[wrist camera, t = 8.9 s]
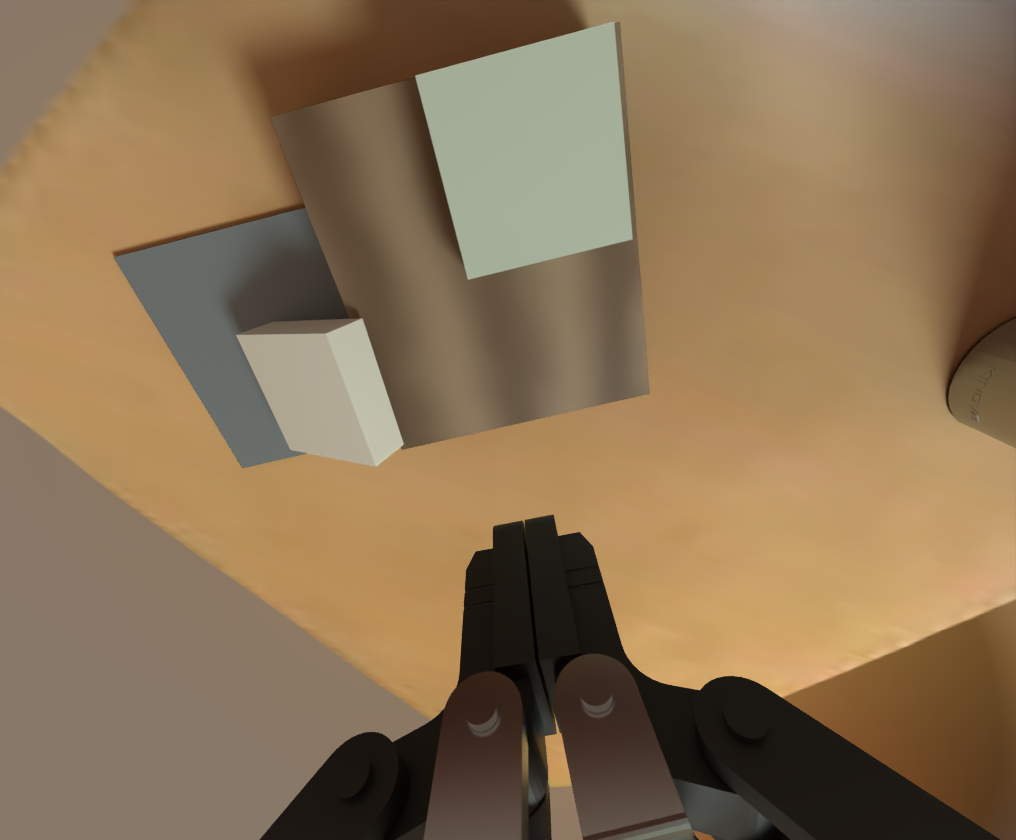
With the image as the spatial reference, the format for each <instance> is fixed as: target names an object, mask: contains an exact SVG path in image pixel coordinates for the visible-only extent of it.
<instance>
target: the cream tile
mask: <svg viewBox="0 0 1016 840" xmlns="http://www.w3.org/2000/svg"><path fill="white" fill-rule="evenodd" d="M236 336H237V338H238V340H239V342H240V345H241V347H242V349H243V351H244V353H245V355H246V357H247V359H248V361H249V364H250V366H251V368H252V370H253V372H254V374H255V376H256V378H257V380H258V383H259V385H260V387H261V389H262V391H263V393H264V395H265V397H266V399H267V402H268V404H269V406H270V408H271V410H272V412H273V414H274V416H275V418H276V421H277V423H278V425H279V427H280V429H281V431H282V433H283V435H284V437H285V440H286V442H287V444H288V446H289V448H290V450H293V451H298V452H303V453H308V454H313V455H318V456H323V457H329V458H334V459H339V460H344V461H349V462H354V463H359V464H364V465H369V466H374V467H376V466H378V465H379V464H380V463H381V462H383V461H384V460H385V459H386V458H388V457H389V456H390V455H391V454H393V453H394V452H395V451H396V450H398V449H399V448H400V447H401V446H403V445H404V443H403V440H402V437H401V434H400V431H399V428H398V425H397V422H396V419H395V416H394V413H393V410H392V407H391V404H390V401H389V398H388V395H387V391H386V388H385V385H384V382H383V379H382V376H381V373H380V370H379V367H378V364H377V361H376V358H375V355H374V352H373V349H372V346H371V343H370V340H369V337H368V334H367V331H366V328H365V325H364V322H363V319H362V318H355V319H330V320H304V321H279V322H271V323H268V324H265V325H263V326H260V327H257V328H254V329H251V330H248V331H246V332H243V333H240V334H237V335H236Z"/></svg>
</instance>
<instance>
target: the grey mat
mask: <svg viewBox="0 0 1016 840" xmlns="http://www.w3.org/2000/svg"><path fill="white" fill-rule="evenodd" d="M114 259H115V261H116V262H117V264H118V266H119V267H120V269H121V270H122V272H123V274H124V275H125V277H126V279H127V280H128V282H129V283H130V285H131V287H132V288H133V290H134V292H135V293H136V295H137V297H138V298H139V300H140V301H141V303H142V305H143V306H144V308H145V310H146V311H147V313H148V315H149V316H150V318H151V319H152V321H153V323H154V324H155V326H156V328H157V329H158V331H159V333H160V334H161V336H162V337H163V339H164V341H165V342H166V344H167V346H168V347H169V349H170V350H171V352H172V354H173V355H174V357H175V359H176V360H177V362H178V364H179V365H180V367H181V368H182V370H183V372H184V373H185V375H186V377H187V378H188V380H189V382H190V383H191V385H192V386H193V388H194V390H195V391H196V393H197V395H198V396H199V398H200V399H201V401H202V403H203V404H204V406H205V408H206V409H207V411H208V413H209V414H210V416H211V417H212V419H213V421H214V422H215V424H216V426H217V427H218V429H219V431H220V432H221V434H222V435H223V437H224V439H225V440H226V442H227V444H228V445H229V447H230V448H231V450H232V452H233V453H234V455H235V457H236V458H237V460H238V462H239V463H240V465H241V466H242V468H245V467H250V466H254V465H258V464H263V463H267V462H271V461H276V460H280V459H285V458H289V457H293V456H298V455H302V454H306V453H303V452H298V451H293V450H290V448H289V446H288V444H287V442H286V440H285V437H284V435H283V433H282V431H281V429H280V427H279V425H278V423H277V421H276V418H275V416H274V414H273V412H272V410H271V408H270V406H269V404H268V402H267V399H266V397H265V395H264V393H263V391H262V389H261V387H260V385H259V383H258V380H257V378H256V376H255V374H254V372H253V370H252V368H251V366H250V364H249V361H248V359H247V357H246V355H245V353H244V351H243V349H242V347H241V345H240V342H239V340H238V338H237V336H236V335H237V334H240V333H243V332H246V331H248V330H251V329H254V328H257V327H260V326H263V325H265V324H268V323H271V322H279V321H304V320H330V319H350V318H349V316H348V313H347V311H346V308H345V306H344V303H343V301H342V298H341V296H340V293H339V291H338V288H337V286H336V283H335V280H334V278H333V275H332V273H331V270H330V268H329V265H328V263H327V260H326V258H325V255H324V253H323V250H322V248H321V245H320V243H319V240H318V238H317V235H316V233H315V230H314V228H313V225H312V223H311V220H310V218H309V215H308V213H307V210H306V208H302V209H298V210H294V211H290V212H286V213H282V214H278V215H275V216H271V217H267V218H263V219H259V220H255V221H251V222H248V223H244V224H240V225H236V226H232V227H228V228H224V229H221V230H217V231H213V232H209V233H205V234H201V235H197V236H194V237H190V238H186V239H182V240H178V241H174V242H171V243H167V244H163V245H159V246H155V247H151V248H147V249H144V250H140V251H136V252H132V253H128V254H124V255H120V256H117V257H114Z"/></svg>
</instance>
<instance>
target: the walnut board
mask: <svg viewBox="0 0 1016 840" xmlns="http://www.w3.org/2000/svg"><path fill="white" fill-rule="evenodd" d="M614 25H615V37H616V48H617V60H618V72H619V84H620V96H621V107H622V119H623V131H624V143H625V154H626V166H627V178H628V190H629V201H630V213H631V225H632V237H633V239H632V240H628V241H624V242H620V243H616V244H612V245H608V246H604V247H600V248H595V249H591V250H587V251H583V252H579V253H575V254H571V255H567V256H563V257H559V258H555V259H551V260H547V261H542V262H538V263H534V264H530V265H526V266H522V267H518V268H514V269H510V270H506V271H502V272H498V273H494V274H490V275H485V276H481V277H477V278H473V279H469V280H468V278H467V274H466V270H465V266H464V263H463V259H462V255H461V251H460V247H459V243H458V239H457V236H456V232H455V228H454V224H453V220H452V216H451V212H450V209H449V205H448V201H447V197H446V193H445V189H444V185H443V182H442V178H441V174H440V170H439V166H438V162H437V158H436V155H435V151H434V147H433V143H432V139H431V135H430V131H429V128H428V124H427V120H426V116H425V112H424V108H423V104H422V101H421V97H420V93H419V89H418V85H417V81H416V77H415V78H411V79H408V80H404V81H400V82H397V83H393V84H389V85H386V86H382V87H378V88H375V89H371V90H367V91H364V92H360V93H356V94H353V95H349V96H345V97H342V98H338V99H334V100H330V101H327V102H323V103H319V104H316V105H312V106H308V107H305V108H301V109H297V110H294V111H290V112H286V113H283V114H279V115H275V116H272V117H270V120H271V122H272V125H273V127H274V130H275V132H276V135H277V137H278V140H279V142H280V145H281V147H282V150H283V152H284V155H285V157H286V160H287V162H288V165H289V167H290V170H291V172H292V175H293V177H294V180H295V182H296V185H297V187H298V190H299V192H300V195H301V198H302V200H303V203H304V205H305V208H306V210H307V213H308V215H309V218H310V220H311V223H312V225H313V228H314V230H315V233H316V235H317V238H318V240H319V243H320V245H321V248H322V250H323V253H324V255H325V258H326V260H327V263H328V265H329V268H330V270H331V273H332V275H333V278H334V280H335V283H336V286H337V288H338V291H339V293H340V296H341V298H342V301H343V303H344V306H345V308H346V311H347V313H348V316H349V318H350V319H355V318H362V319H363V322H364V325H365V328H366V331H367V334H368V337H369V340H370V343H371V346H372V349H373V352H374V355H375V358H376V361H377V364H378V367H379V370H380V373H381V376H382V379H383V382H384V385H385V388H386V391H387V395H388V398H389V401H390V404H391V407H392V410H393V413H394V416H395V419H396V422H397V425H398V428H399V431H400V434H401V437H402V440H403V443H404V445H403V446H401V449H402V450H403V449H407V448H412V447H416V446H421V445H425V444H429V443H434V442H438V441H443V440H447V439H452V438H456V437H460V436H465V435H469V434H474V433H478V432H482V431H487V430H491V429H496V428H500V427H504V426H509V425H513V424H518V423H522V422H527V421H531V420H535V419H540V418H544V417H549V416H553V415H557V414H562V413H566V412H571V411H575V410H579V409H584V408H588V407H593V406H597V405H602V404H606V403H610V402H615V401H619V400H624V399H628V398H632V397H637V396H641V395H646V394H650V391H649V378H648V366H647V353H646V341H645V328H644V316H643V304H642V291H641V279H640V266H639V254H638V241H637V229H636V217H635V204H634V192H633V179H632V167H631V154H630V142H629V129H628V117H627V105H626V92H625V80H624V67H623V55H622V42H621V30H620V22H617V23H614Z"/></svg>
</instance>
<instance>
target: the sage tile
mask: <svg viewBox="0 0 1016 840" xmlns="http://www.w3.org/2000/svg"><path fill="white" fill-rule="evenodd" d="M415 77H416V81H417V85H418V89H419V93H420V97H421V101H422V104H423V108H424V112H425V116H426V120H427V124H428V128H429V131H430V135H431V139H432V143H433V147H434V151H435V155H436V158H437V162H438V166H439V170H440V174H441V178H442V182H443V185H444V189H445V193H446V197H447V201H448V205H449V209H450V212H451V216H452V220H453V224H454V228H455V232H456V236H457V239H458V243H459V247H460V251H461V255H462V259H463V263H464V266H465V270H466V274H467V278H468V280H469V279H473V278H477V277H481V276H485V275H490V274H494V273H498V272H502V271H506V270H510V269H514V268H518V267H522V266H526V265H530V264H534V263H538V262H542V261H547V260H551V259H555V258H559V257H563V256H567V255H571V254H575V253H579V252H583V251H587V250H591V249H595V248H600V247H604V246H608V245H612V244H616V243H620V242H624V241H628V240H632V239H633V237H632V225H631V213H630V201H629V190H628V178H627V166H626V154H625V143H624V131H623V119H622V107H621V96H620V84H619V72H618V60H617V48H616V37H615V25H614V22H610V23H607V24H603V25H599V26H596V27H592V28H588V29H584V30H581V31H577V32H573V33H570V34H566V35H562V36H559V37H555V38H551V39H548V40H544V41H540V42H537V43H533V44H529V45H526V46H522V47H518V48H515V49H511V50H507V51H504V52H500V53H496V54H493V55H489V56H485V57H482V58H478V59H474V60H471V61H467V62H463V63H460V64H456V65H452V66H449V67H445V68H441V69H438V70H434V71H430V72H426V73H423V74H419V75H415Z"/></svg>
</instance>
